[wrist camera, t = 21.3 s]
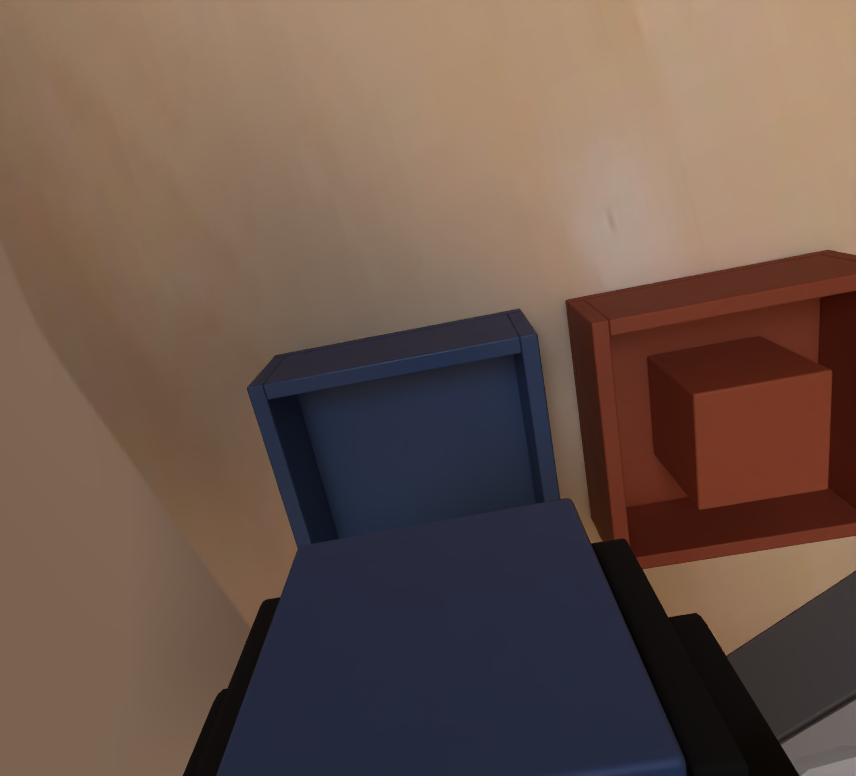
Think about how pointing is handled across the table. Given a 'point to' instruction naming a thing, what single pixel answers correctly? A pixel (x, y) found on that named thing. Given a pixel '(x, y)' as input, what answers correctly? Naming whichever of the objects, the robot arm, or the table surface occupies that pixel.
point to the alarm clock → (809, 681)
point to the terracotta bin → (694, 327)
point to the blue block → (452, 659)
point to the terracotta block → (741, 421)
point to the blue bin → (408, 427)
